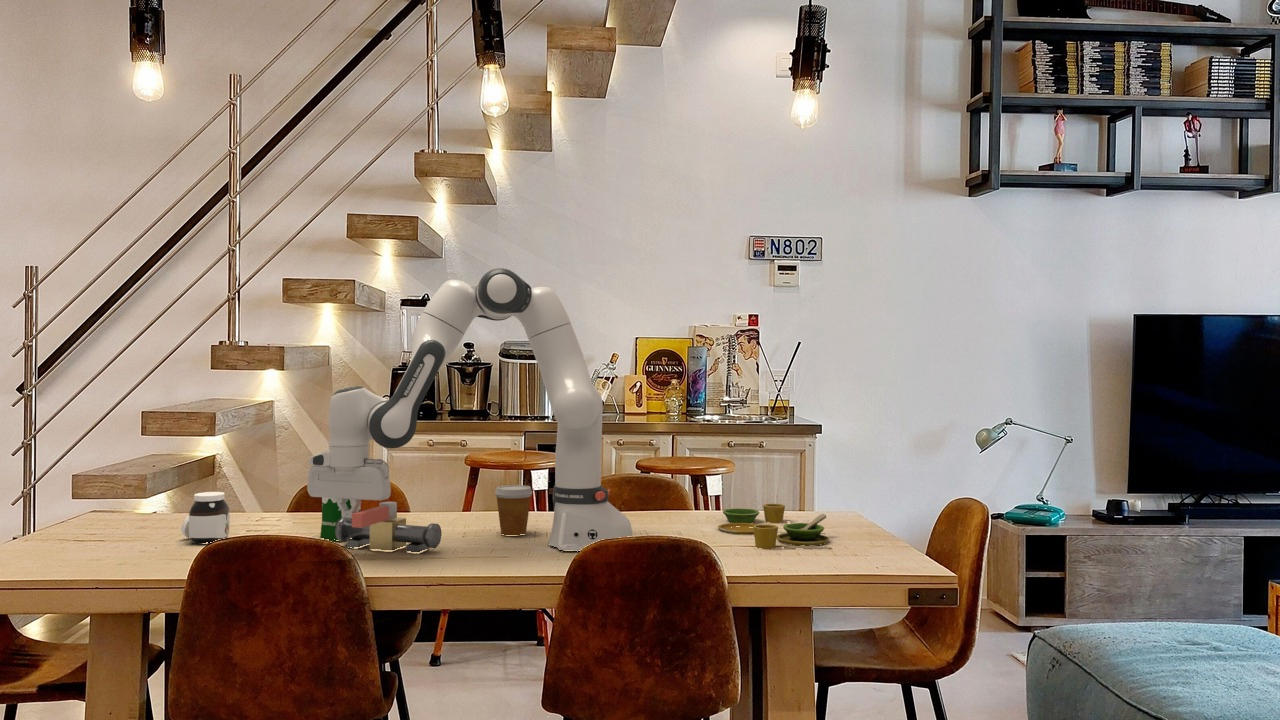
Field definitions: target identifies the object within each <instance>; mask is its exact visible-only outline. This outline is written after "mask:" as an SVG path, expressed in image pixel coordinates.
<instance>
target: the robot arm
mask: <svg viewBox="0 0 1280 720" xmlns="http://www.w3.org/2000/svg"><path fill="white" fill-rule="evenodd" d="M510 317H514V318H516V319H517V320H518V321H519V322H520V323H521V325H522V327H523V328H524V331H525V333H526V338H527V339H528V342H529V345H530V348H531V350H532V352H533V355H534V357H535V361H536V363H537V365H538V369H539V371H540V375H541V379H542V382H543V385H544V388H545V392H546V396H547V399H548V401H549V403H550V406H551V410H552V413H553V416H554V418H555V421H556V422H557V430H556V431H557V432H556V433H557V434H556V443H555V445H556V446H555V457H554V459H555V461H554V463H555V465H554V469H555V474H554V475H555V476H554V479H555V482H554V485H553V490H552V491H553V492H552V503H553V504H552V505H553V521H552V527H551V532H550V536H549V540H548V543H549V544H550V545H552V546H555V547H557V548H558V549H560V550H574V551H575V550H577V552H576V553H579V552H578V551H579V550H581V549H582V548H584V547H585V546H587V545H589V544H591V543H593V542H596V541H598V540H602V539H610V538H618V537H627V536H633V528H632V523H631V521H630V519H629V518H628V516H626V515H625V514H624V513H623V512H621V511H620V510H619V509H618V508H616V507H615V506H614V505H612V503H611V502H609V495H610V494H611V489H610V488H608V489H606V488H605V487H604V486H602V485H601V484H602V440H603V439H602V438H603V437H602V435H603V406H604V405H603V398H602V396H601V394H600V391H599V390H598V388H596V387H594V385H593V381H592V379H591V375H590V373H589V370H588V367H587V363H586V360H585V358H584V354H583V351H582V348H581V346H580V343H579V340H578V339H577V336H576V333H575V330H574V328H573V324H572V323H571V320H570V318H569V315H568V312H567V310H566V309H565V307H564V305H563V302H562V301H561V299H560V298H559V296H558V295H557V293H556V292H555V291H554V290H553V289H552V288H551V287H548V286H535V287H531V285H530V284H529V283H527V282H526V281H525V280H524V279H523V278H521V277H520V276H519V275H518V274H517V273H515V272H514V271H512V270H510V269H508V268H503V267H502V268H494V269H491V270H489V271H487V272H485V274H483V275H482V277H481V278H480V280H479V282H478V283H476V284H468V283H467V282H465V281H462V280H459V279H449V280H446V281H444V283H442V285H441V286H439V287H438V289H437V290H436V291H435V292H434V294H433V295H432V297H431V299H430V300H429V301H428V302H427V304H426V305H425V307H424V309H423V310H422V312H421V314H420V316H419V317H418V320H417V321H416V324H415V327H414V329H413V333H412V336H411V338H410V341H411V342H410V343H411V357H410V361H409V364H408V367H407V369H406V370H405V372H404V374H403V376H402V378H401V380H400V382H399V383H398V385H397V387H396V389H395V391H394V393H393V395H392V396H391V397H390V398H385V397H382V396H380V395H378V394H376V393H373V392H372V391H370V390H369V389H367V388H366V387H364V386H350V387H346V388H342V389H339V390H336V391H335V392H334V393H333V394H332V395H331V398H330V399H329V400H330V401H329V406H328V429H329V435H330V436H329V442H328V450H327V451H323V452H321V453H317V454H315V455H311V456H310V457H309V459H308V463H309V465H310V466H311V467H310V468H309V469H308V473H307V485H306V486H307V492H308V494H309V496H310V497H312V498H322V497H325V498H337V504H338V506H339V508H340V510H341V512H342V518H349V519H352V513H356V512H357V510H358V508H359V506H360V507H361V504H362V501H377V502H380V501H384V500H385V501H386V500H388V499H389V498H390V496H391V493H392V491H391V480H390V475H389V474H390V467H389V464H388V463H387V462H386V461H385V460H384V459H382V458H381V459H380V458H377V459H375V458H370V441H371V440H374V442H375V443H376V444H378V445H379V446H381V447H383V448H387V449H398V448H401V447H403V446H405V445H407V444H408V443H410V442H411V440H412V439H413V438H414V436H415V433H416V430H417V424H418V411H419V409H420V406H421V404H422V403H423V401H424V399H425V397H426V395H427V393H428V391H429V389H430V387H431V385H432V384H433V381H434V380H435V377H436V376H437V374H438V373H439V371H440V370H441V368H442V367H443V365H445V363H446V362H447V360H448V359H449V358H450V357H451V356H452V355H453V353H454V352H455V350H456V349H457V347H458V346H459V344H460V343H461V341H462V339H463V338H464V336H465V334H466V332H467V330H468V329H469V327H470V325H471V323H472V322H473V321H474V320H475V319H476V318H480V319H486V320H491V321H496V322H497V321H505V320H508V319H509V318H510ZM348 499H351V504H353V505H352V507H351V510H349V509H348V507H347V505H346V502H347V501H348ZM548 543H547V544H548ZM550 545H549V546H550ZM557 548H556V549H557ZM558 549H557V550H558Z"/></svg>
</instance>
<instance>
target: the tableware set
mask: <svg viewBox="0 0 1280 720" xmlns="http://www.w3.org/2000/svg"><path fill="white" fill-rule="evenodd" d="M762 507H763V514H764V520H765V521H766V523H767V522H770V523H769V524H768V523H767V524H764V523H763V524H758V523H754V522H755V520H756V518H757V517H758V516H760V511H759V510H757V509H756V510H755V509H751V508H742V507H741V508H740V507H739V508H726V509H724V510H722V513H723V515H725V518H726V519H727V521H728V523H721V524H719V525H717V528H718V530H719V531H720V530H721V531H720V532H722V531H723V532H722V533H725V532H726V534H730V533H732V534H731V535H740V534H750V535H753V536H754V543H755V548H756V547H757V548H756V549H759V548H762V549H761V550H772V549H771V548H774V549H775V548H776V544H777V540H778V541H779V542H780V543H781V542H782V543H781V544H784V543H786V544H785V545H783V546H784V548H785V549H784V550H797V549H796V548H803V549H802V550H812V549H832V550H833V548H832V547H831V546H821V545H820V544H823V545H824V543H825V544H826V543H827V542H829V540H830V538H829V536H826V532H824V531H825V527H824V526H823V525H821V524H819V523H821V522H822V521H823V520H825V519H826V518H827V515H826V514H825V513H821V514H819V515H818V516H816V517H815V518H814V519H812V520H813V521H812V522H810V523H809V522H808V521H809V520H810V519H808V520H807V522H805V523H804V522H803V523H797V522H795V523H794V522H792V523H791V524H787V523H785V524H786V525H785V524H783V527H782V528H783V529H784V531H779V526H777V525H773V524H781V522H782V523H783V520H784V515H785V508H786V505H785V504H783V503H766V504H763V505H762ZM765 521H764V522H765ZM786 521H791V520H790V519H786ZM786 521H785V522H786ZM752 522H753V523H752ZM736 526H740V527H736ZM731 527H732V528H731ZM749 527H753V528H749ZM779 533H781V534H779ZM821 534H824V535H821ZM788 544H792V545H788ZM795 545H805V546H795ZM809 545H818V546H809Z"/></svg>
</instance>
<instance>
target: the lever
mask: <svg viewBox="0 0 1280 720" xmlns="http://www.w3.org/2000/svg"><path fill="white" fill-rule="evenodd" d="M397 516H398V501H397V502H396V501H384V502H383V501H382V502H379V506H375V507H370V508H367V509H364V510H360V512H356V513H352V527H357V528H362V527H366V526H369V525H372V524H376V523H379V522H382V521H385V520H389V519H395V518H398V517H397Z"/></svg>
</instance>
